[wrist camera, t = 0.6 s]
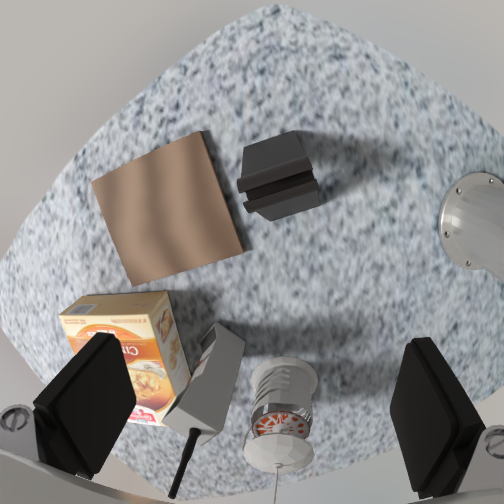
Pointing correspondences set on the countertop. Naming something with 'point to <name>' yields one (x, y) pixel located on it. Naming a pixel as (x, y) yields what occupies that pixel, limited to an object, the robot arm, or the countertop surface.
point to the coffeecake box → (136, 345)
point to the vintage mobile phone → (206, 394)
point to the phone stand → (278, 177)
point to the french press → (281, 416)
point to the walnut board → (168, 211)
